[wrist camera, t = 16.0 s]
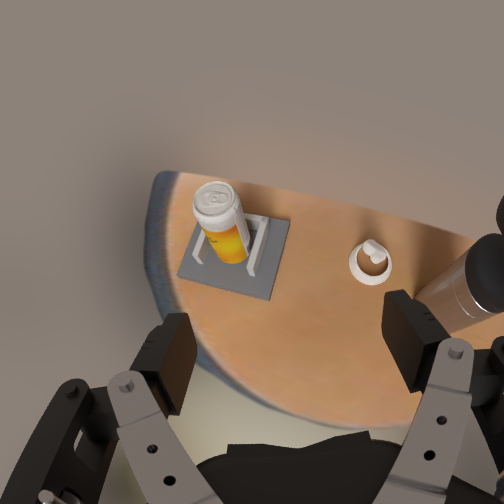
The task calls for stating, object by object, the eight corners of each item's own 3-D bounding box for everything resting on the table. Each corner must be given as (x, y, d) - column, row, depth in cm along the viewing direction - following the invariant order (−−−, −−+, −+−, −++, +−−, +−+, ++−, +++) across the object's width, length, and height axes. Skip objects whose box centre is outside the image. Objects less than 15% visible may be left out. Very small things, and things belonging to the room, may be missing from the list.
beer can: (220, 231, 51) (195, 178, 37) (254, 233, 50) (241, 178, 36) (213, 264, 48) (184, 218, 35) (250, 267, 47) (233, 220, 34)
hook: (321, 269, 42) (344, 226, 40) (348, 268, 51) (366, 233, 49) (363, 297, 37) (388, 252, 36) (382, 290, 47) (401, 254, 45)
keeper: (289, 224, 51) (289, 210, 47) (269, 300, 46) (267, 292, 42) (205, 209, 55) (199, 194, 50) (179, 277, 49) (168, 267, 45)
